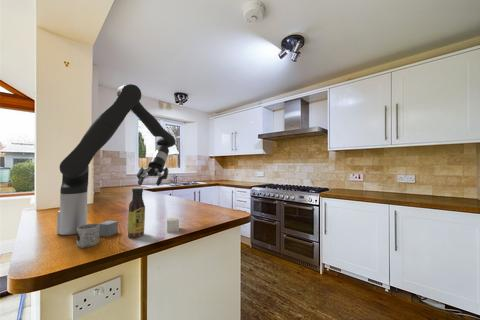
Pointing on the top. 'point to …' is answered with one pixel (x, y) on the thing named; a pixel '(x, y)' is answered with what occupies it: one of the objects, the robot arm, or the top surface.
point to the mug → (87, 235)
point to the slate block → (108, 228)
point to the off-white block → (172, 224)
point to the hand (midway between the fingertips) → (148, 184)
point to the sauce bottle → (136, 214)
